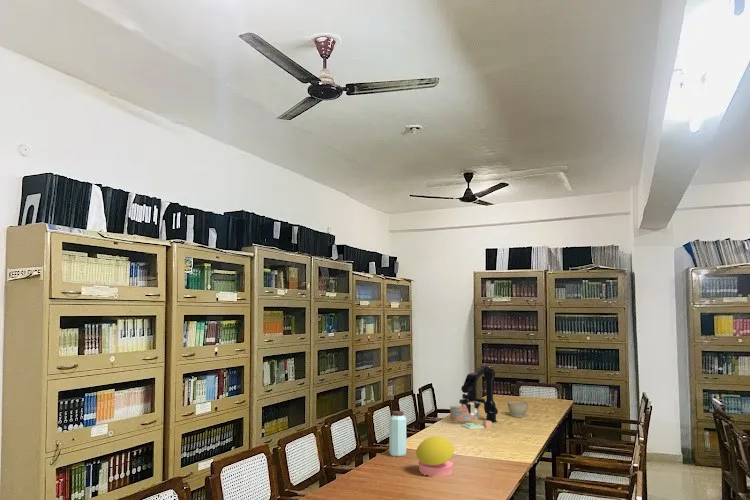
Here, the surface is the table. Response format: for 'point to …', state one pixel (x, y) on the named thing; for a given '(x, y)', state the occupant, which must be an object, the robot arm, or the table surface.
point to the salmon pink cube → (487, 424)
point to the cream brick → (473, 411)
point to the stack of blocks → (462, 412)
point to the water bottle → (397, 434)
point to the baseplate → (472, 425)
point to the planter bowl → (517, 408)
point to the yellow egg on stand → (435, 456)
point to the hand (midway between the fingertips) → (472, 413)
